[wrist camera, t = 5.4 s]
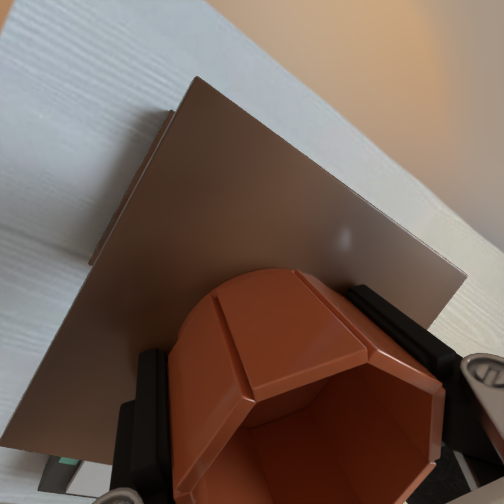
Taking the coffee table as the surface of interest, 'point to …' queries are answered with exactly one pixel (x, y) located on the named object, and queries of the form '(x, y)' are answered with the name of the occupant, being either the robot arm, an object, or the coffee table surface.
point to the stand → (208, 263)
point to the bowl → (296, 400)
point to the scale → (75, 477)
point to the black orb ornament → (441, 482)
